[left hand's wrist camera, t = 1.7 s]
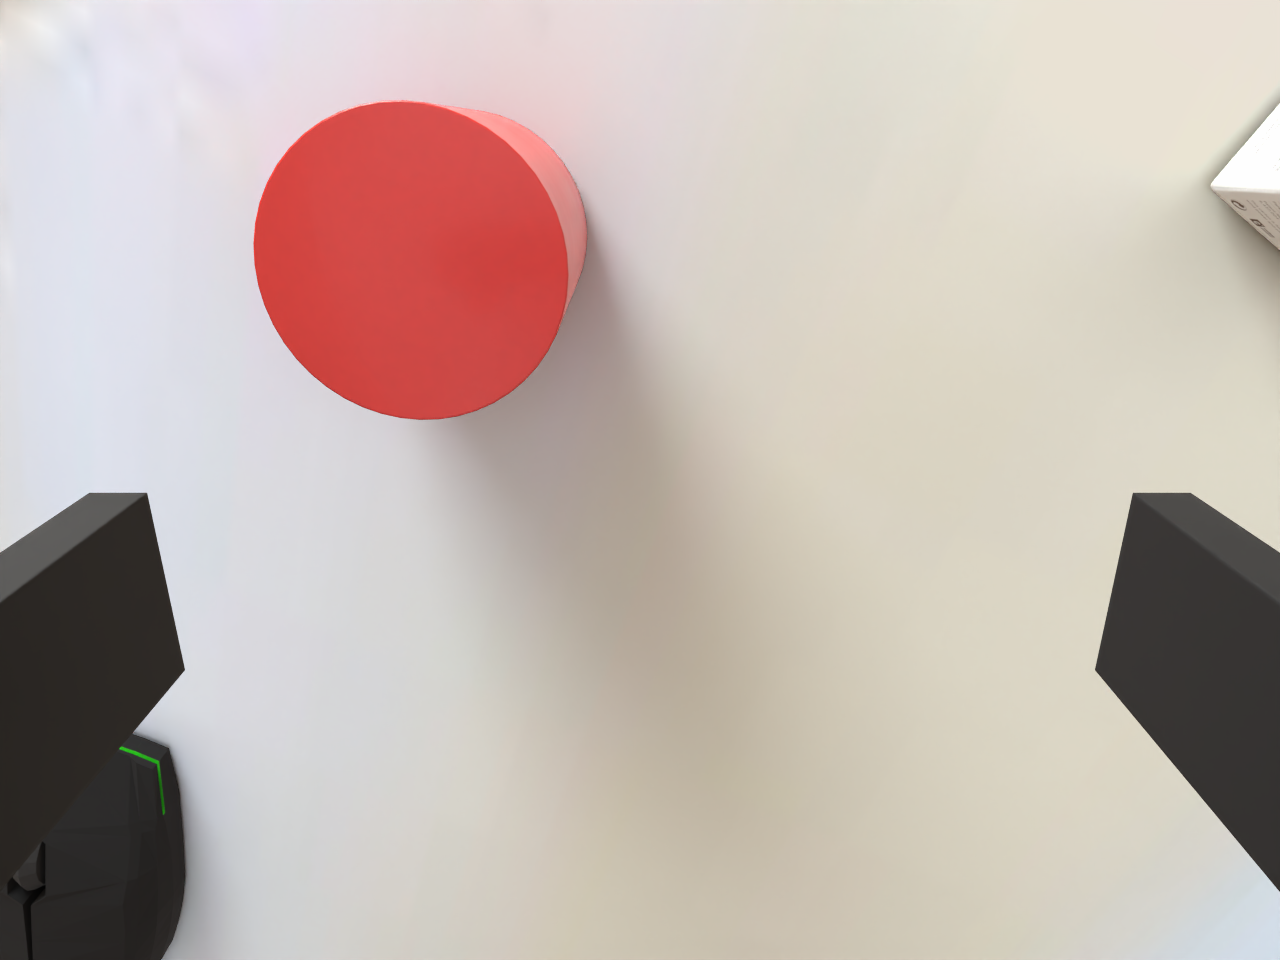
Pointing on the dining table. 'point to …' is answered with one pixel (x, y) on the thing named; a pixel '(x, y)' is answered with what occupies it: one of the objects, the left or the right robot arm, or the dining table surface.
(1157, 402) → the dining table surface
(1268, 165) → the cosmetic box
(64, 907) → the computer mouse
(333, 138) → the cylinder
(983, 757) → the dining table surface
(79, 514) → the left robot arm
